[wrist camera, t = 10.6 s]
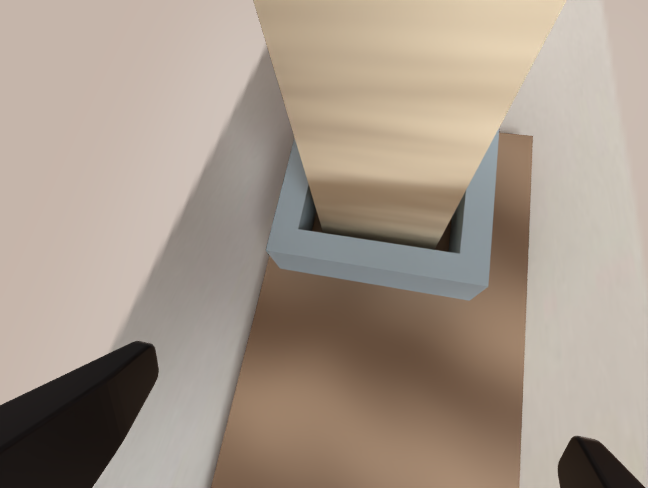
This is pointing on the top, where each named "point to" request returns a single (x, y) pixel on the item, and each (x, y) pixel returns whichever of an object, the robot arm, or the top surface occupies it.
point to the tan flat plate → (388, 372)
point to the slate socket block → (387, 258)
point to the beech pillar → (398, 101)
